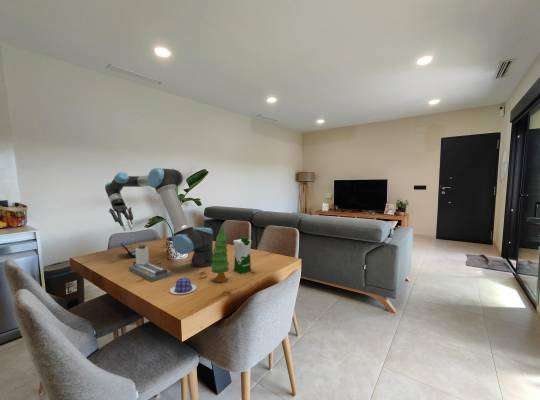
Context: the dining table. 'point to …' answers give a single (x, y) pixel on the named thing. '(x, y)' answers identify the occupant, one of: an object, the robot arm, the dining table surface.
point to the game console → (132, 254)
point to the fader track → (150, 271)
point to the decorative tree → (220, 256)
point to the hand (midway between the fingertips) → (128, 229)
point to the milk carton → (242, 255)
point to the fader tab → (142, 255)
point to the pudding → (183, 286)
